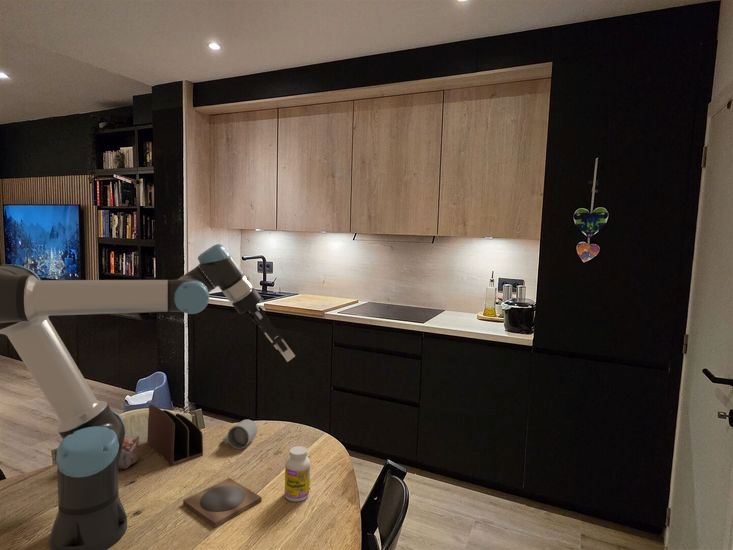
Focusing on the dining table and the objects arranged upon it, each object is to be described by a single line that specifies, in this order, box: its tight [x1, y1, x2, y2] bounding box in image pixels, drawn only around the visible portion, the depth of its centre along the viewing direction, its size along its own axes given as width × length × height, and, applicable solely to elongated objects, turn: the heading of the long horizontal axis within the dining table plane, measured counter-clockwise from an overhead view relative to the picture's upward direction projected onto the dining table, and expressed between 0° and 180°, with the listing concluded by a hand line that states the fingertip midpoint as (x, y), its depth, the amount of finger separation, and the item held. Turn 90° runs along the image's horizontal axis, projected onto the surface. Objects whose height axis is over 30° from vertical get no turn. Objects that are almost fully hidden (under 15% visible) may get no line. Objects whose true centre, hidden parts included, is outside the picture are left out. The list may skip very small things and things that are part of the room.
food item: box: [118, 435, 140, 470], centre depth 132 cm, size 14×8×10 cm, turn 91°
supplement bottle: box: [284, 445, 311, 502], centre depth 120 cm, size 7×7×13 cm
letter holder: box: [146, 404, 204, 467], centre depth 143 cm, size 10×20×14 cm, turn 45°
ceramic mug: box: [222, 419, 258, 450], centre depth 149 cm, size 11×8×8 cm
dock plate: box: [182, 477, 263, 529], centre depth 116 cm, size 14×14×1 cm
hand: (285, 352), depth 131 cm, fingers open, 13 cm apart
